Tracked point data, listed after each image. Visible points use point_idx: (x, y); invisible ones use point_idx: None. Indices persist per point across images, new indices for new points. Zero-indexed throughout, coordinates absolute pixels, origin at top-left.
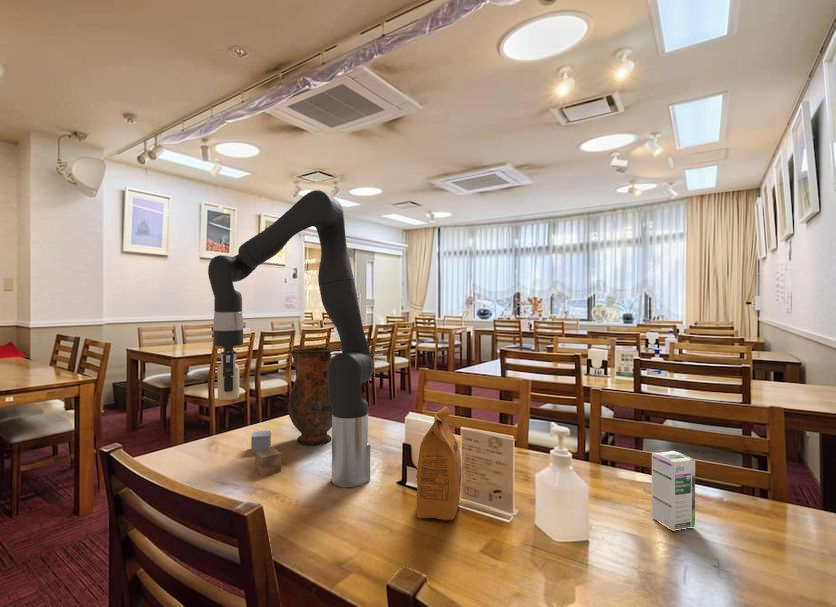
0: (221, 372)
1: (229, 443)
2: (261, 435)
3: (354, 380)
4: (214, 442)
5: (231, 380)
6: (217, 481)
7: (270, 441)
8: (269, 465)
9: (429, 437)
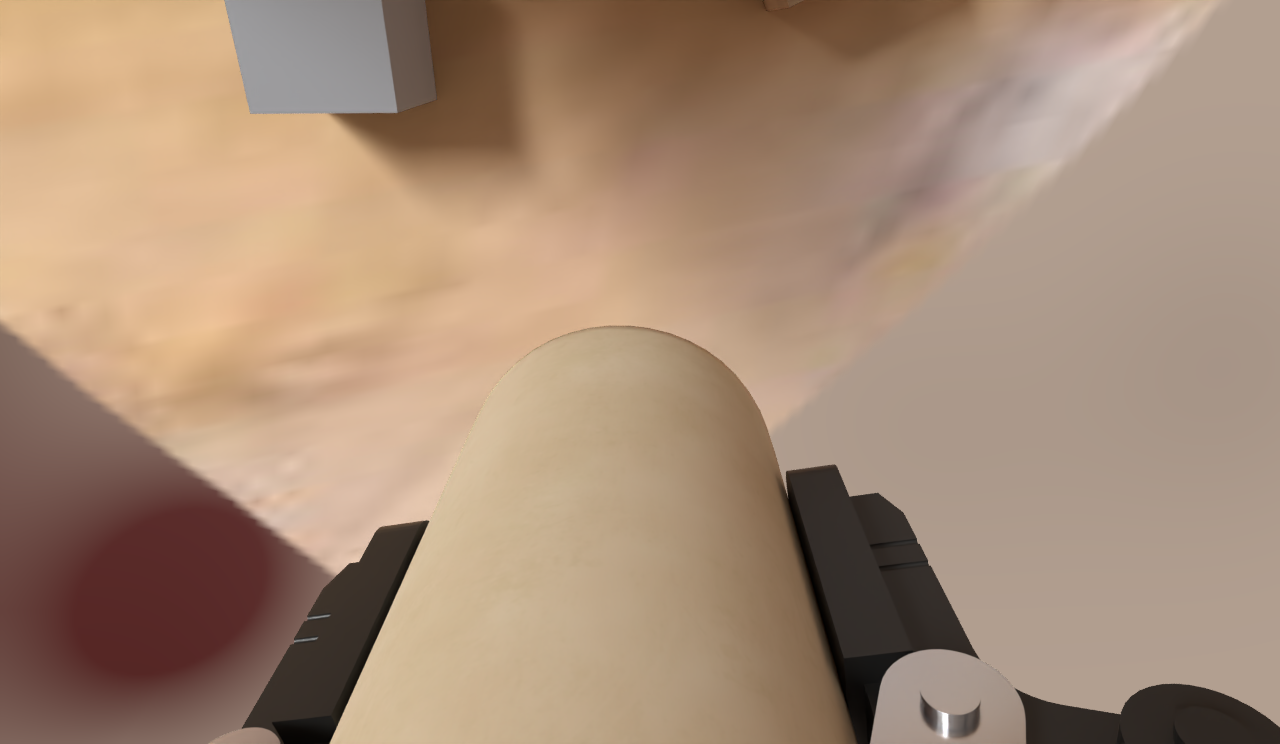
0: None
1: (234, 291)
2: (358, 21)
3: None
4: (219, 387)
5: (888, 620)
6: (880, 232)
7: None
8: None
9: None
